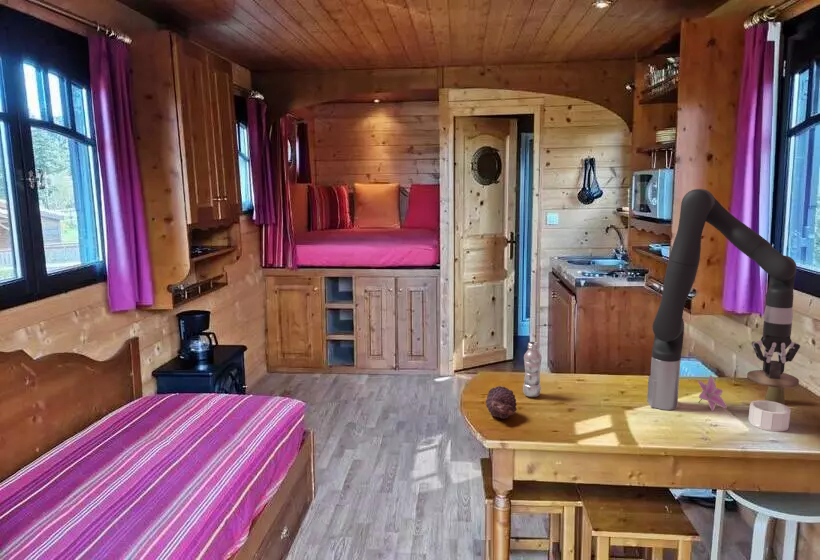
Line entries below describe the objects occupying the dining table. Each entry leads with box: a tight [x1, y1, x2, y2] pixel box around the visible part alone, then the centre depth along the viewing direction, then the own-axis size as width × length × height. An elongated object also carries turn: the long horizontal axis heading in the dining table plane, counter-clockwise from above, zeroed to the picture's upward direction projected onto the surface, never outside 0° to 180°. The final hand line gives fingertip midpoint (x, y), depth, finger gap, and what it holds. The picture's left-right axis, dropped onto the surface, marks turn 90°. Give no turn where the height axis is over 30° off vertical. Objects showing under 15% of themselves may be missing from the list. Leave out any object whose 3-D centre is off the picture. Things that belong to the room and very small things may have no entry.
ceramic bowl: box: [748, 399, 792, 433], centre depth 191 cm, size 11×11×6 cm
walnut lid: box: [746, 359, 800, 389], centre depth 188 cm, size 14×14×6 cm
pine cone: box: [485, 385, 518, 420], centre depth 199 cm, size 18×10×10 cm, turn 6°
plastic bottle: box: [522, 341, 543, 398], centre depth 216 cm, size 6×7×20 cm
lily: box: [697, 374, 728, 412], centre depth 207 cm, size 12×12×10 cm
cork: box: [764, 386, 786, 405], centre depth 210 cm, size 6×6×11 cm
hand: (773, 373), depth 188 cm, fingers closed on walnut lid, 3 cm apart
